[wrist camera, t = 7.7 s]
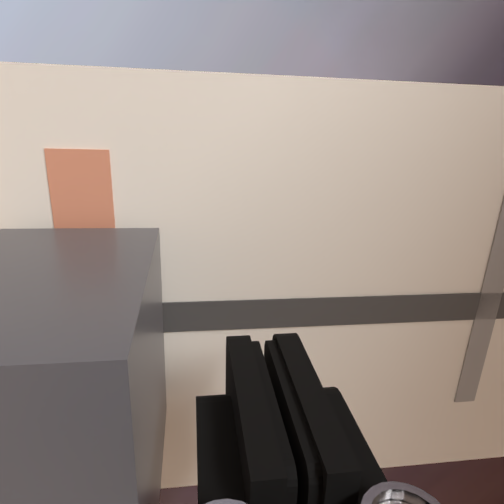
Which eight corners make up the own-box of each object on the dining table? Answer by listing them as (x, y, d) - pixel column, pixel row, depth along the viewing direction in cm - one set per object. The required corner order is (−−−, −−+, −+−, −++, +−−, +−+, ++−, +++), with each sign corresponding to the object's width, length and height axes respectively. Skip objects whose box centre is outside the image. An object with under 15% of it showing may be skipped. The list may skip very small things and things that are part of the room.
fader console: (573, 93, 14) (633, 92, 12) (483, 420, 19) (516, 456, 17) (-65, 63, 11) (-116, 55, 9) (14, 458, 16) (-9, 506, 14)
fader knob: (161, 227, 11) (129, 364, 5) (168, 407, 13) (151, 648, 7) (-2, 228, 11) (-233, 382, 5) (32, 416, 13) (-104, 686, 7)
